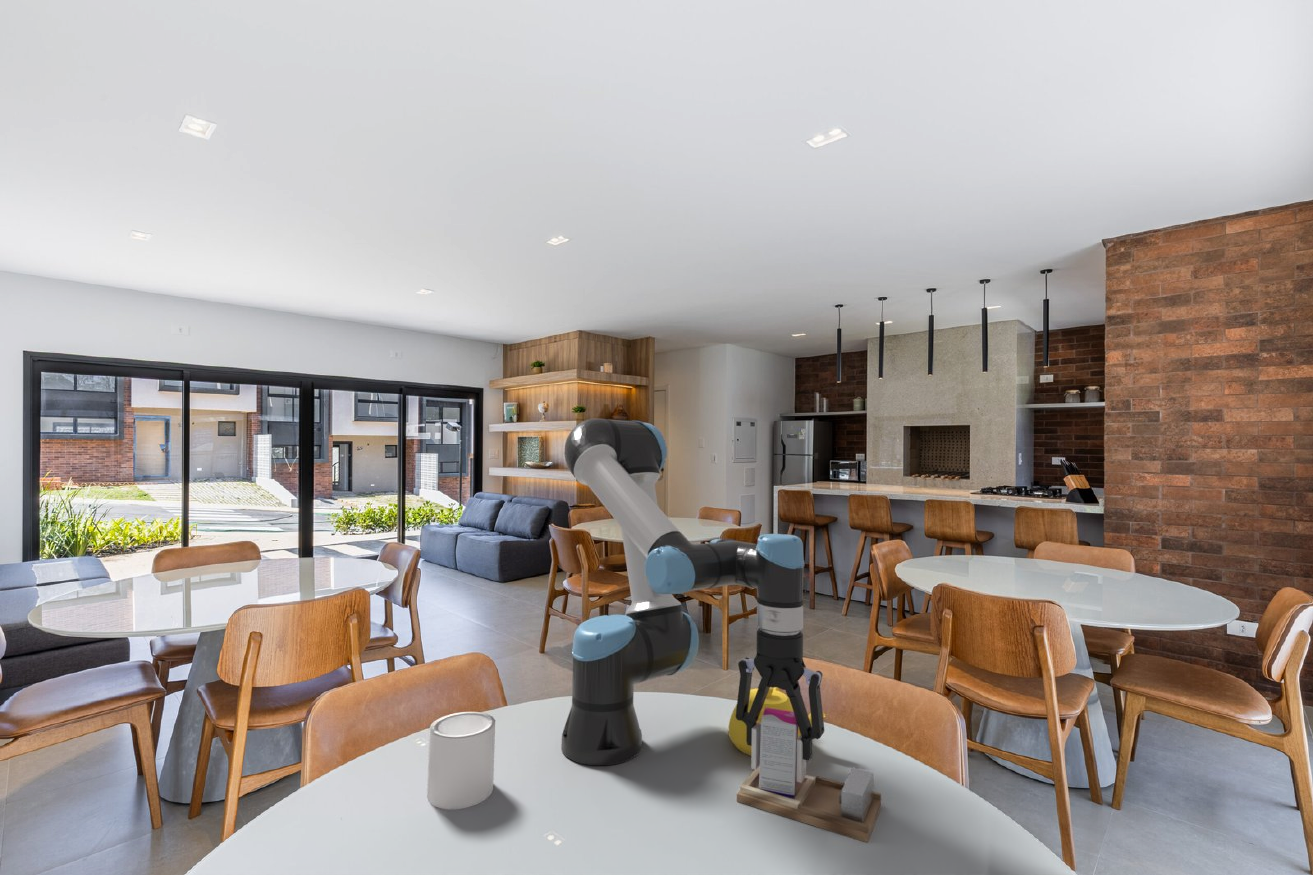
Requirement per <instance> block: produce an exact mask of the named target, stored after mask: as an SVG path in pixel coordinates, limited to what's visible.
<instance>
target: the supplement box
mask: <svg viewBox="0 0 1313 875" xmlns="http://www.w3.org/2000/svg"><path fill="white" fill-rule="evenodd" d="M797 739H798V724H797V721H796V718H795V715H794V712H791V711H784V710H778V709H771V708H765V710H764V713H763V716H762V719H761V742H760V772H759V789H760V790H764V791H767V792H771V793H774V794H777V795H781V796H784V797H787V798H794V795H795V786H796V782H797Z"/></svg>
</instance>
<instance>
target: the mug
mask: <svg viewBox="0 0 1313 875" xmlns="http://www.w3.org/2000/svg"><path fill="white" fill-rule="evenodd" d="M495 737H496V719H495V718H494V716H492V715H490V714H488V713H485V712H481V711H462V712H461V711H460V712H455V713H451V714H446V715H443V716H441V717H439V718H437V719H435V720H434V721H433V722H432V723H431V724H430V726H429V730H428V755H427V757H428V759H427V760H428V761H427V764H428V765H427V784H426V785H427V788H426V790H427V791H426V798H427V801H428V803H429V804H430V805H431V806H433V807H436V808H438V809H442V810H461V809H465V808H471V807H473V806H475V805H478V804H480V803H483V802H484V801H485V800H487V799H488V798H490V795H491V794H493V791H494V775H495V774H494V772H495V748H496V746H495V741H496V740H495V739H496V738H495Z"/></svg>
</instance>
